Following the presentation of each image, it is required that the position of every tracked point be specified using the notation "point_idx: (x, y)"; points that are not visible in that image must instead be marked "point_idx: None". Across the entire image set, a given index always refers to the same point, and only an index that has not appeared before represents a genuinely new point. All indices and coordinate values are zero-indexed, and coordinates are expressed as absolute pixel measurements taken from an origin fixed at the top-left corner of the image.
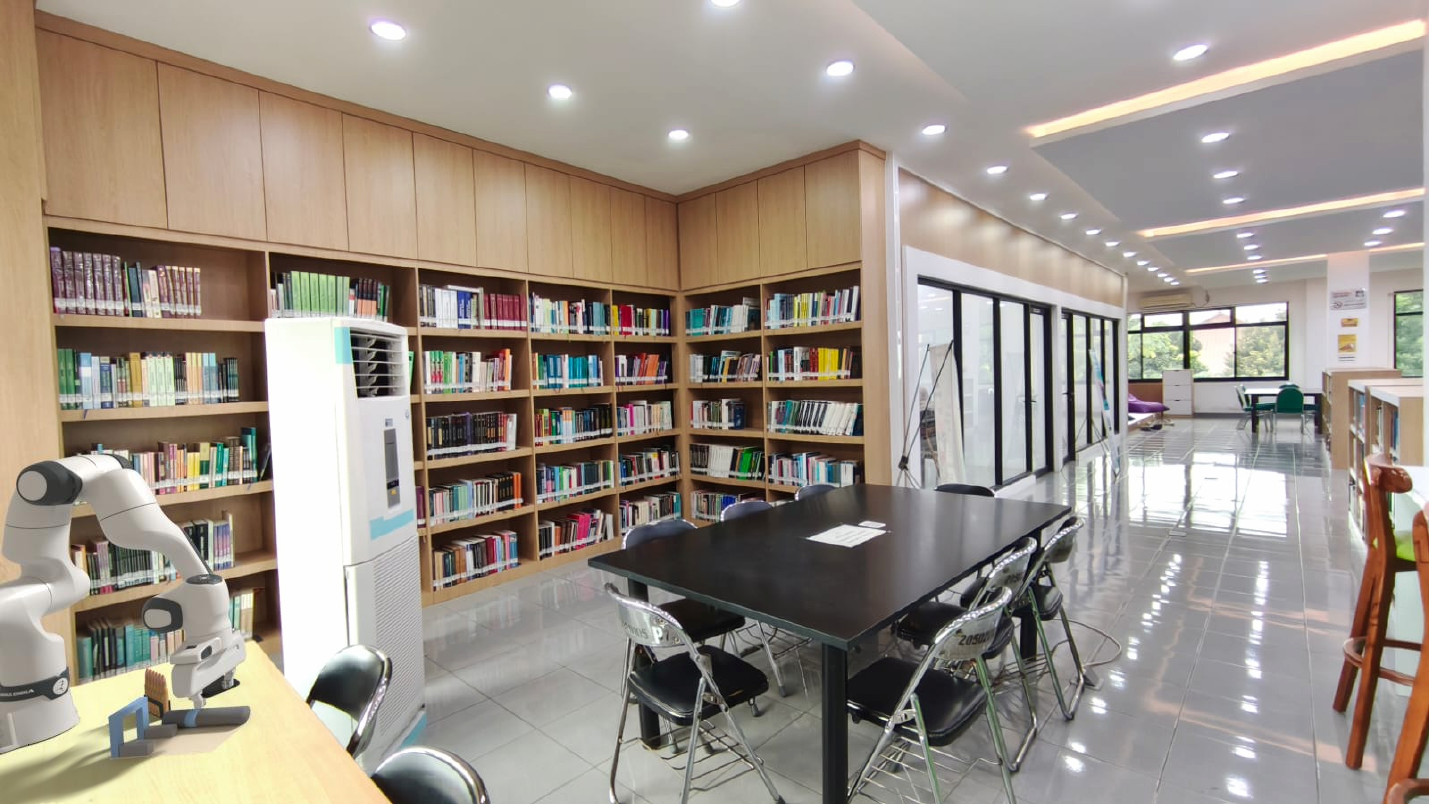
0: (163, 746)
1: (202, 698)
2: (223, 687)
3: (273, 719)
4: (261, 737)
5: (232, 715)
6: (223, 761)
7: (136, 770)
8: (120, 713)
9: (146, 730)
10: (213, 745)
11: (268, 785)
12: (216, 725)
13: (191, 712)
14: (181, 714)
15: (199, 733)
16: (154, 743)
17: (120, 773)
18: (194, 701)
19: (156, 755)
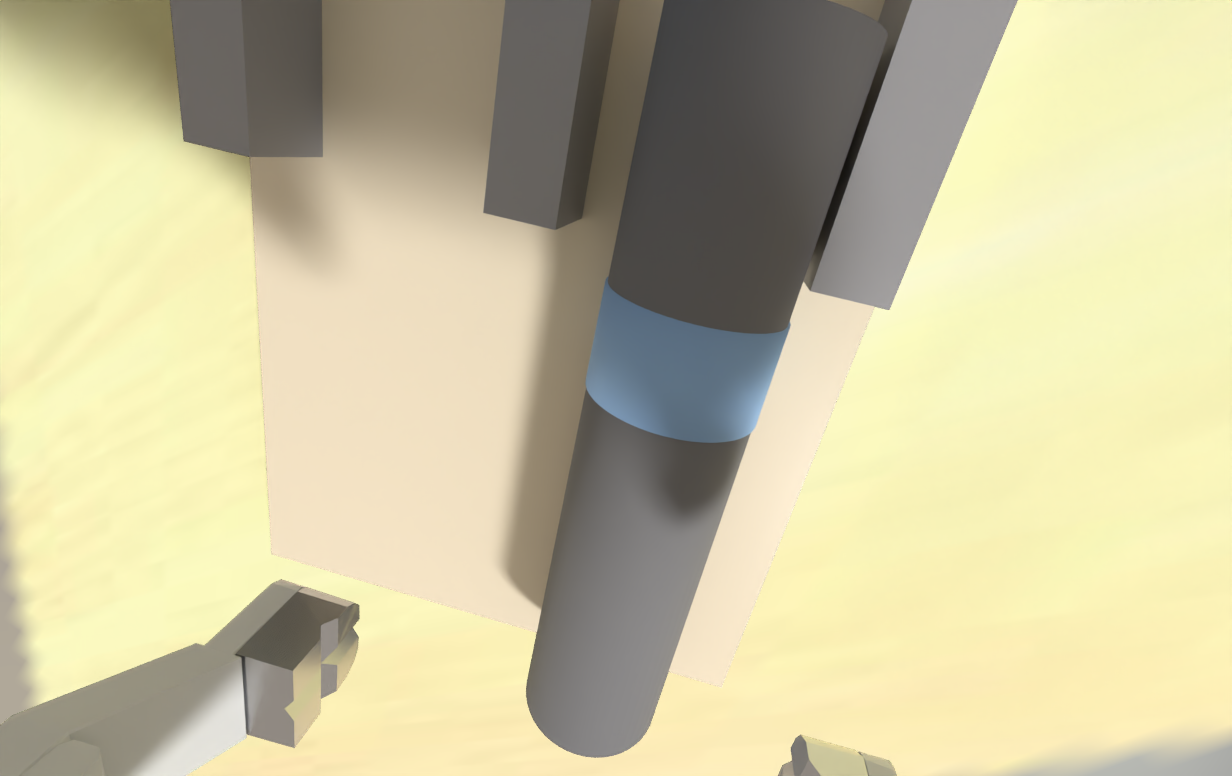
0: (384, 202)
1: (215, 752)
2: (801, 755)
3: (650, 730)
4: (447, 705)
5: (536, 659)
6: (243, 598)
7: (171, 134)
8: None
9: None
10: (342, 543)
11: None
12: None
13: (639, 353)
14: (646, 243)
15: (534, 401)
16: (455, 79)
17: (136, 19)
18: (196, 659)
19: (261, 218)
